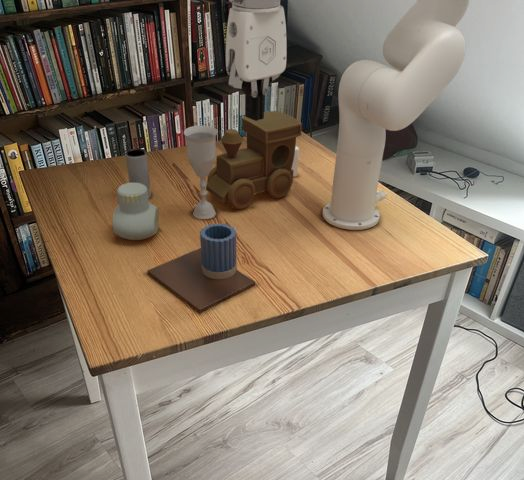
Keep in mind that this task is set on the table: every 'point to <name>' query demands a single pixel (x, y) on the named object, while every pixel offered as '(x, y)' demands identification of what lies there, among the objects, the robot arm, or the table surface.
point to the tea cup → (218, 251)
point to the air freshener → (135, 213)
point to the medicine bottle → (295, 162)
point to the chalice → (202, 162)
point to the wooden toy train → (256, 160)
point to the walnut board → (198, 282)
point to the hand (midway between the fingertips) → (254, 117)
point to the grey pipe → (138, 168)
